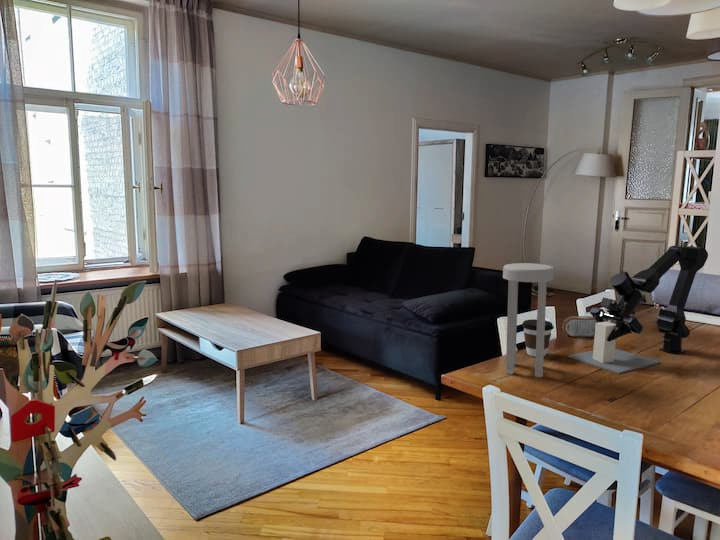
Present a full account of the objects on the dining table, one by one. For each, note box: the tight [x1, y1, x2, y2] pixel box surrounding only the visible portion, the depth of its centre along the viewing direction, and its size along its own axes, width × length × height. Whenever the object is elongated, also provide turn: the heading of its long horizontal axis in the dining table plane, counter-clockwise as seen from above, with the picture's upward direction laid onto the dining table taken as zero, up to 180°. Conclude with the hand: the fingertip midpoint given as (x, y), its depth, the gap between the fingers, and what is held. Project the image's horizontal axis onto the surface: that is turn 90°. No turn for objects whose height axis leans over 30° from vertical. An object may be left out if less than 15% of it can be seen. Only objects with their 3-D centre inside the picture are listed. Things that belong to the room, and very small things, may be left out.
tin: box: [561, 315, 596, 338], centre depth 213 cm, size 15×3×8 cm, turn 84°
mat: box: [567, 348, 661, 375], centre depth 184 cm, size 22×20×1 cm
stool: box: [502, 262, 555, 378], centre depth 172 cm, size 16×16×35 cm
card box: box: [593, 321, 617, 363], centre depth 181 cm, size 5×4×13 cm
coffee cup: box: [521, 318, 554, 358], centre depth 190 cm, size 11×11×12 cm
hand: (600, 338), depth 181 cm, fingers open, 6 cm apart
